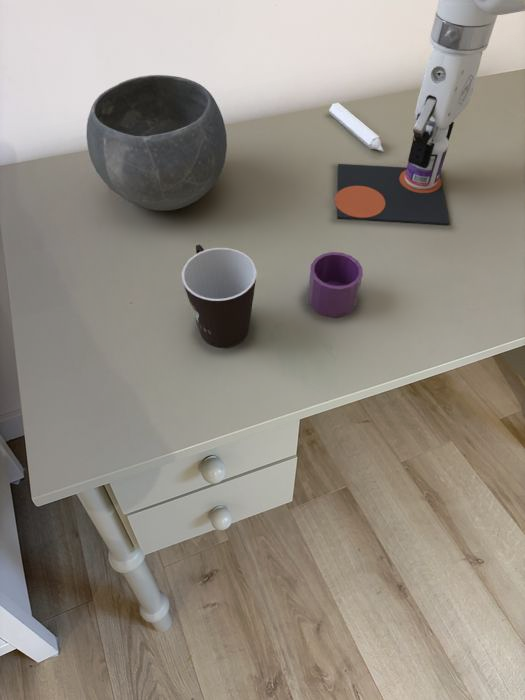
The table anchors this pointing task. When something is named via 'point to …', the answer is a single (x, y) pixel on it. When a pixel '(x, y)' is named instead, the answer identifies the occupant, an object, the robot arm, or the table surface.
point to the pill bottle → (429, 175)
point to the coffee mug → (220, 294)
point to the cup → (334, 284)
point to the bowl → (157, 141)
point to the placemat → (387, 196)
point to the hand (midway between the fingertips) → (427, 152)
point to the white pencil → (356, 127)
